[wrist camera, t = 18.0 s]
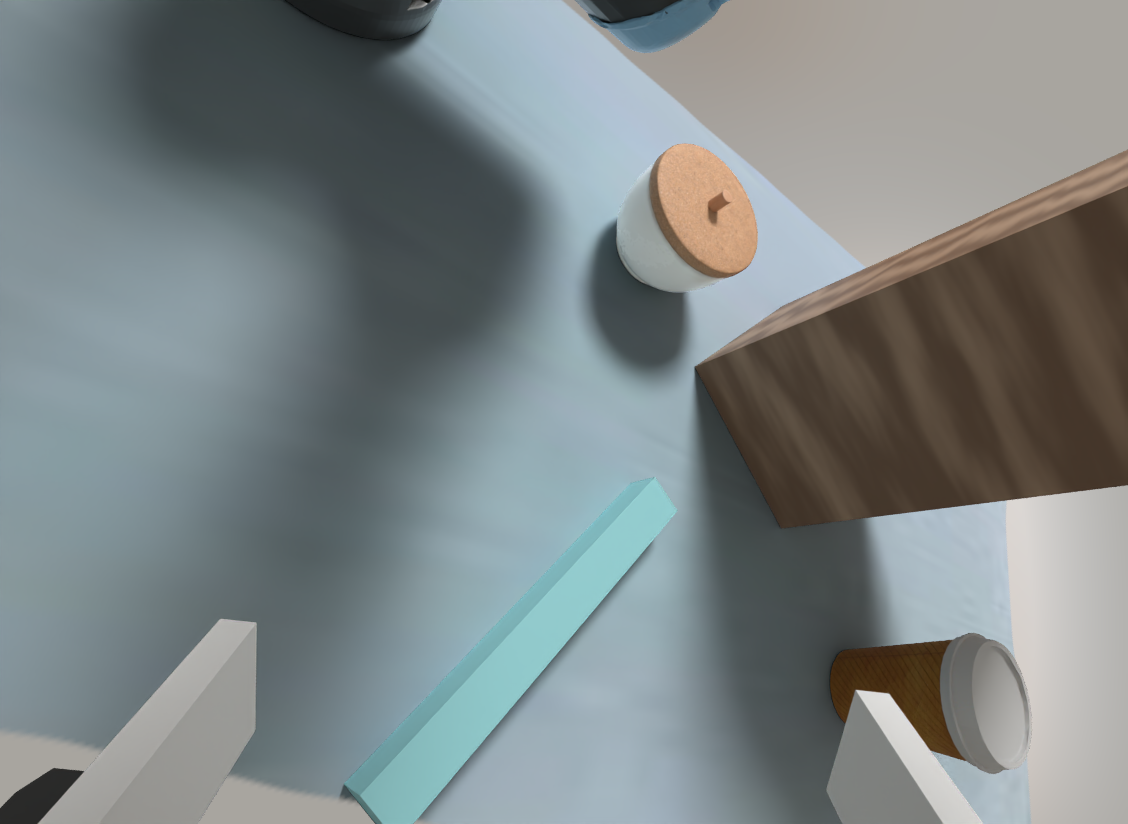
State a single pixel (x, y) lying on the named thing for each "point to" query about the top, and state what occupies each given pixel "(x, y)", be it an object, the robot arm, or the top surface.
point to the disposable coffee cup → (947, 696)
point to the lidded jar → (686, 222)
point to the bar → (506, 661)
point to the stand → (947, 367)
